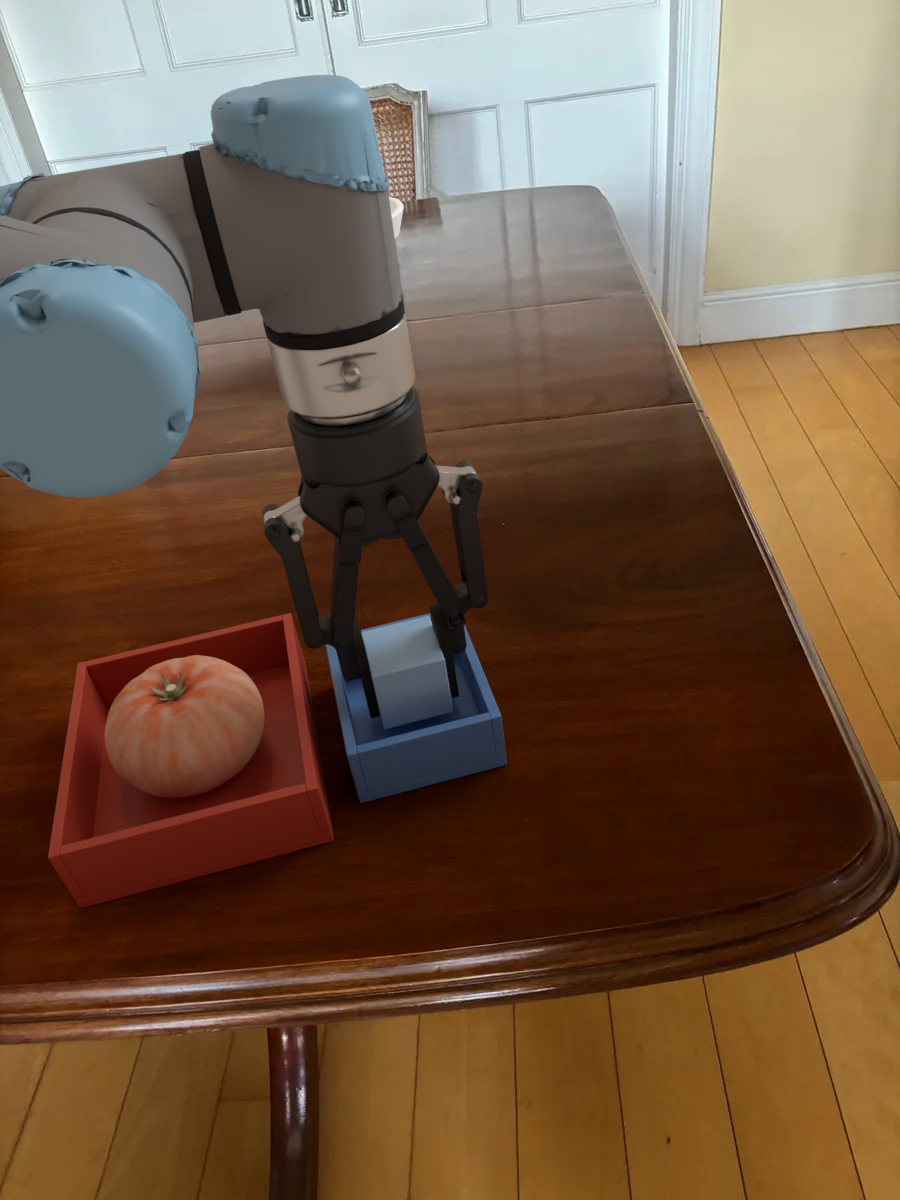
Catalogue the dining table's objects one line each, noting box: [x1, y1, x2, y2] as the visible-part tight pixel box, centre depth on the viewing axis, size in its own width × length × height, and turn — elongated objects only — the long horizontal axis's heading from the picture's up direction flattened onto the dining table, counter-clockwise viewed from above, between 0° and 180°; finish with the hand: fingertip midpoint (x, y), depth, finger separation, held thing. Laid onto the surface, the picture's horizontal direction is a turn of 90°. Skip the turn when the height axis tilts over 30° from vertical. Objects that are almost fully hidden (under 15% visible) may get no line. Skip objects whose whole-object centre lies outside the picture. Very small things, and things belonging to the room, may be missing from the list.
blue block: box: [361, 616, 453, 729], centre depth 63 cm, size 5×5×5 cm
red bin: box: [47, 612, 335, 909], centre depth 63 cm, size 16×18×5 cm
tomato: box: [105, 655, 264, 798], centre depth 62 cm, size 11×11×8 cm
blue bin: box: [325, 612, 508, 804], centre depth 65 cm, size 10×12×5 cm
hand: (411, 694), depth 64 cm, fingers closed on blue block, 5 cm apart
